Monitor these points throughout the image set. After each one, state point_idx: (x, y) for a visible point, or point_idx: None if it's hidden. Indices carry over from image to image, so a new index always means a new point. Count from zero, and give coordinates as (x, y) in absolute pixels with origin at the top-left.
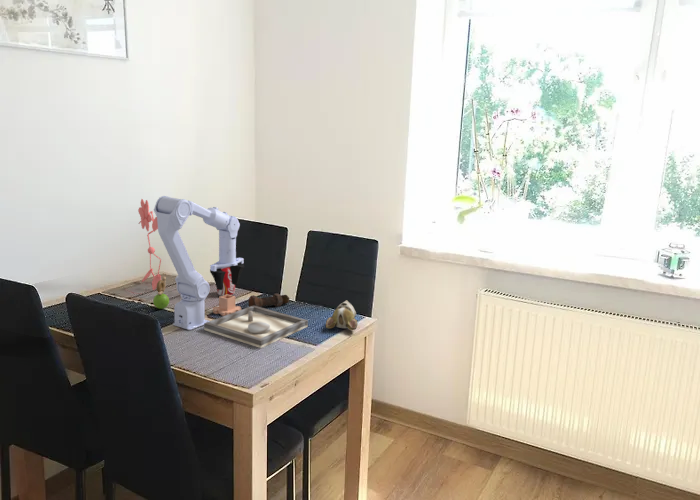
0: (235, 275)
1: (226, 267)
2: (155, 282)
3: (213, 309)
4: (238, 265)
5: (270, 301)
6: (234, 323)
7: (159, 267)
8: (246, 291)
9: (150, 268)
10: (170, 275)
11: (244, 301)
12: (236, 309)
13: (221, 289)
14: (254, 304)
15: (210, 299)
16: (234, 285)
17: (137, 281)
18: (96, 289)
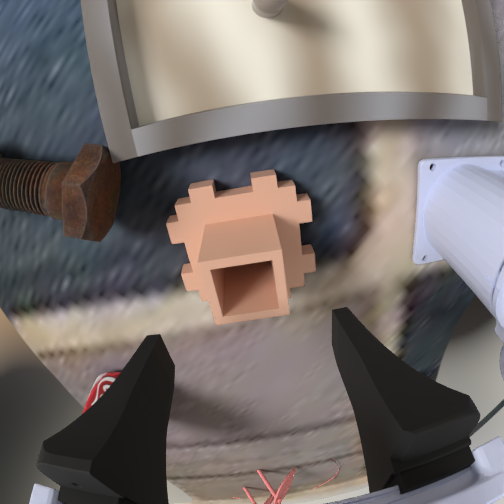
0: (147, 411)
1: None
2: (286, 486)
3: (303, 280)
4: (98, 492)
5: (11, 162)
6: (368, 39)
7: None
8: (50, 367)
9: None
10: (192, 494)
11: (93, 300)
12: (214, 201)
13: (345, 309)
14: (105, 162)
15: (205, 384)
16: (92, 400)
17: None
18: (361, 482)
